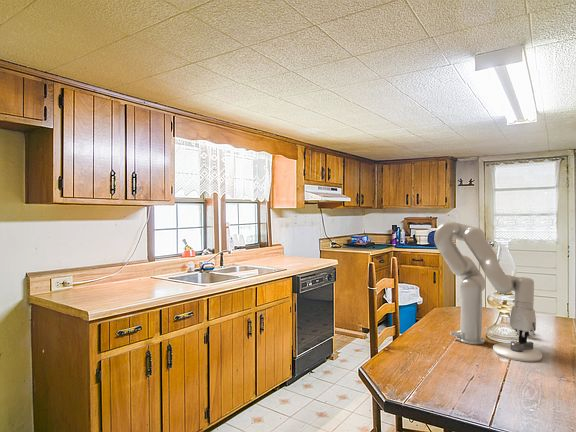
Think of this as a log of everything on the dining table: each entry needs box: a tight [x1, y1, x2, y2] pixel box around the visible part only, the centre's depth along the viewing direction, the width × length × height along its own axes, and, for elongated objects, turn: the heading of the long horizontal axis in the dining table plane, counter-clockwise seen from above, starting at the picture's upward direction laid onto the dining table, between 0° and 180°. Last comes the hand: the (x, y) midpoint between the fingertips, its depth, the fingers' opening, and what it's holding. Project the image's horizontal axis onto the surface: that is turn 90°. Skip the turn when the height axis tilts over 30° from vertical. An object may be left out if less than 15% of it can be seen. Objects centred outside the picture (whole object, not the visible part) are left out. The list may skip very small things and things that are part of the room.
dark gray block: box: [510, 340, 534, 352], centre depth 179 cm, size 10×5×3 cm, turn 104°
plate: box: [492, 342, 543, 363], centre depth 178 cm, size 19×19×2 cm
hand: (522, 344), depth 182 cm, fingers closed
